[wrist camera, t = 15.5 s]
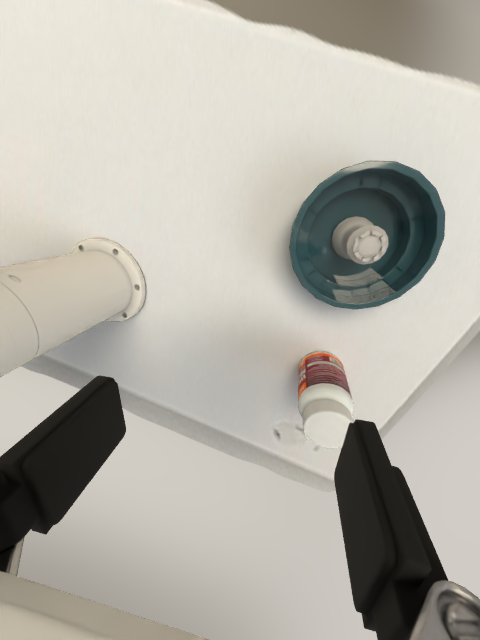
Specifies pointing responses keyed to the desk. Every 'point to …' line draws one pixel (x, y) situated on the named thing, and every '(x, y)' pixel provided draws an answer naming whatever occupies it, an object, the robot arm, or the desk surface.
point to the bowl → (383, 211)
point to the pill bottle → (324, 399)
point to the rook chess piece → (359, 240)
